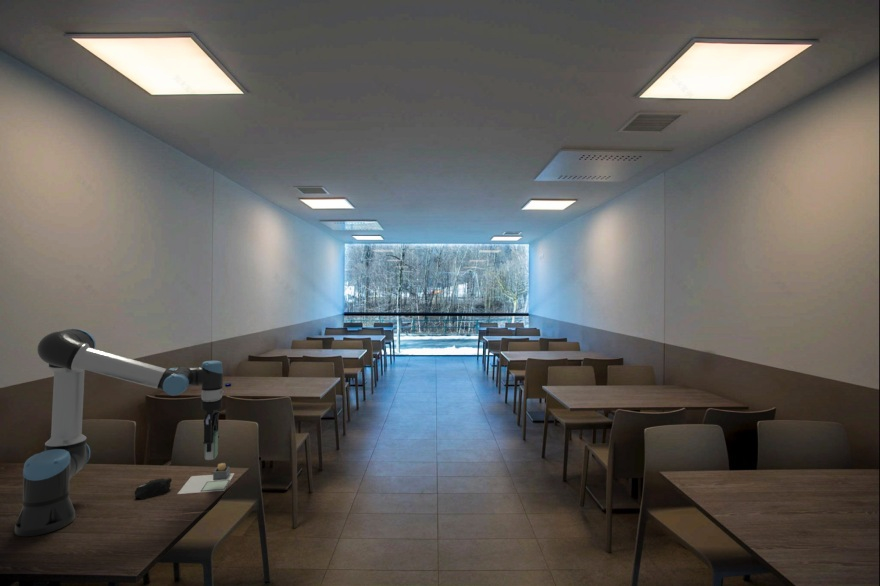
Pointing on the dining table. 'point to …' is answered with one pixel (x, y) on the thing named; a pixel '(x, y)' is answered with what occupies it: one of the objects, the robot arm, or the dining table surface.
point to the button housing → (221, 474)
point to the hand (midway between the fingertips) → (211, 457)
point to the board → (205, 484)
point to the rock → (153, 488)
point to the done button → (221, 467)
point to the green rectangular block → (215, 441)
